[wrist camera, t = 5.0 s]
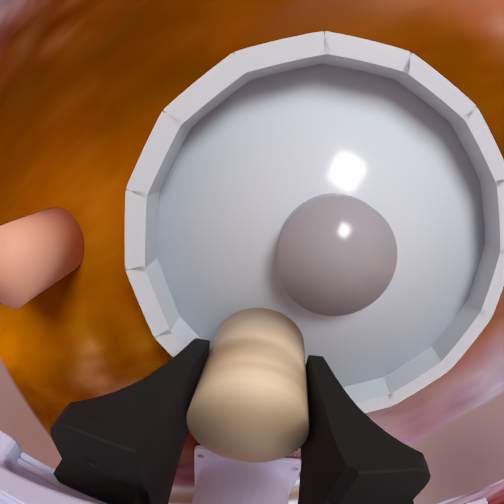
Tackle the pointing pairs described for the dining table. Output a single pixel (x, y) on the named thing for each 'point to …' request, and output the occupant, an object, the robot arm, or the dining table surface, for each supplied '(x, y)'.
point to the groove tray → (323, 210)
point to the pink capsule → (37, 254)
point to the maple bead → (252, 389)
